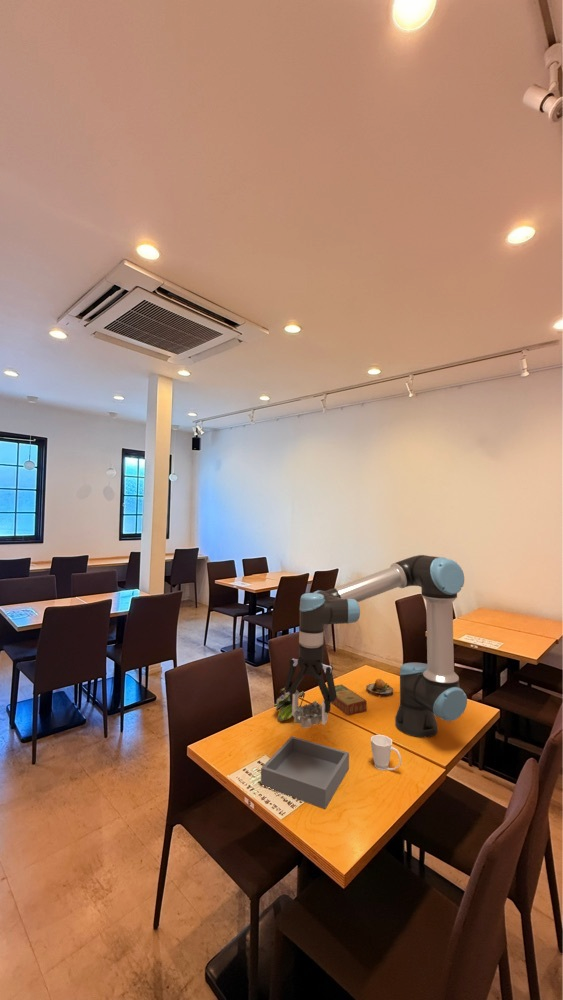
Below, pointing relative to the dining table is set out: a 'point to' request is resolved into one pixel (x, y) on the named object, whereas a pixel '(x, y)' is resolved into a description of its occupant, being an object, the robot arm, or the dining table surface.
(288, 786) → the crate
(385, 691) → the brown food dish
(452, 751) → the dining table surface
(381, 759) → the cup
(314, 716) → the egg carton
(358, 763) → the dining table surface
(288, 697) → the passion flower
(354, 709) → the carton
